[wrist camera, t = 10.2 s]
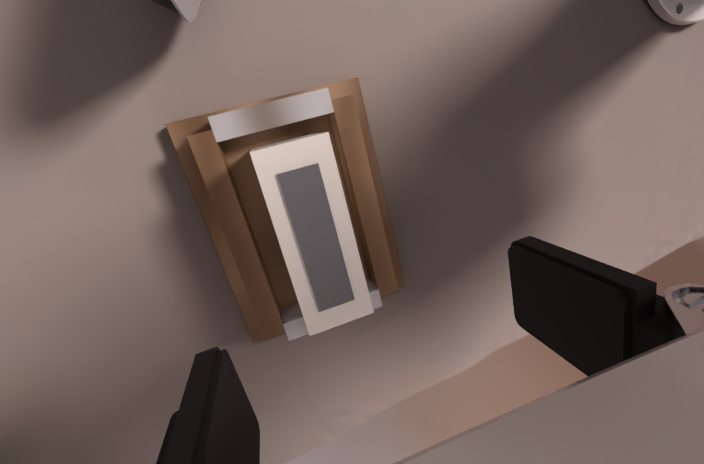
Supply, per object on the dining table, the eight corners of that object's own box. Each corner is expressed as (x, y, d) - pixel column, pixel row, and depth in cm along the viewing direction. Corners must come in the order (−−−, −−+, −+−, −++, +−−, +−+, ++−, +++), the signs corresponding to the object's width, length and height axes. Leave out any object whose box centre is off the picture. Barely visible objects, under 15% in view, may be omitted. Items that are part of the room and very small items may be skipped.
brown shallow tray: (354, 79, 27) (368, 71, 24) (400, 282, 32) (416, 297, 29) (168, 124, 24) (155, 122, 21) (253, 335, 30) (252, 359, 27)
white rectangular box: (310, 134, 26) (329, 131, 19) (347, 274, 30) (374, 313, 23) (251, 149, 25) (249, 152, 18) (297, 292, 29) (310, 337, 22)
